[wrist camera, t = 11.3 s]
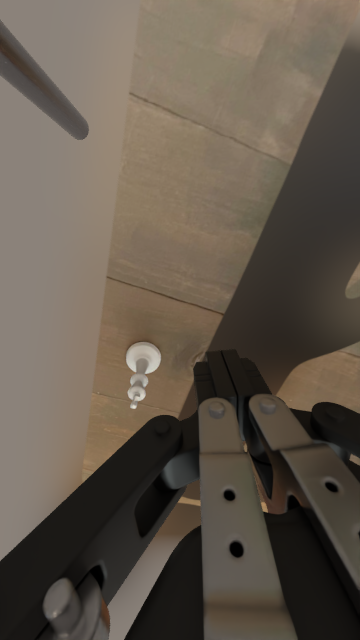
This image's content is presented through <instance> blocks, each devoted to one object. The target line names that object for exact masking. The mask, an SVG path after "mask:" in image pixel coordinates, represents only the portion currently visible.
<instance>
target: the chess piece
mask: <svg viewBox="0 0 360 640" xmlns="http://www.w3.org/2000/svg"><path fill="white" fill-rule="evenodd" d="M160 361H161V354H160V351H159V350H158V348H157V347H156V346H154V345H153V344H151V343H148V342H138V343H135V344H133V345H132V346H131V347H130V348H129V349H128V351H127V354H126V362H127V365H128V366H129V368H130V369H131V370H133V371H134V372H136V374H134V375H133V376H132V377H131V379H130V382H131V385H132V386H131V387H130V389H129V390H128V396H129V398H130V399H131V400H133V401H132V403H131V405H130V408H133V409H134V408H136V407H137V402H138V401H140V400H142V399H144V397H145V395H146V392H145V389H144V387H145V386H146V385H147V383H148V378H147V377H146V376H145V374H148V373H151V372H153V371H154V370H156V369H157V368H158V366H159V364H160Z"/></svg>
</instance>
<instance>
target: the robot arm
mask: <svg viewBox="0 0 360 640" xmlns="http://www.w3.org/2000/svg"><path fill="white" fill-rule="evenodd" d="M205 356H206V361H205V362H196V364H195V366H194V368H193V371H194V386H195V396H196V404H197V410H196V412H195V413H194V414H193V415H192V416H191V417H189V418H187V419H184V420H182V421H179V420H178V419H177V418H175V417H173V416H170V415H160V416H156V417H154V418H152V419H151V420H149V421H148V422H147V423H146V424H145V425H144V426H143V427H142V428H141V429H140V430H139V431H137V432H136V433H135V434H134V435H133V436H132V437H131V438H130V439H129V440H128V441H127V442H126V443H125V444H124V445H123V446H122V447H121V448H119V449H118V450H117V451H116V452H115V453H114V454H113V455H112V456H111V457H110V458H109V459H108V460H107V461H106V462H105V463H104V464H103V465H101V466H100V467H99V468H98V469H97V470H96V471H95V472H94V473H93V474H92V475H91V476H90V477H89V478H88V479H87V480H86V481H85V482H84V483H82V484H81V485H80V486H79V487H78V488H77V489H76V490H75V491H74V492H73V493H72V494H71V495H70V496H69V497H68V498H67V499H66V500H65V501H63V502H62V503H61V504H60V505H59V506H58V507H57V508H56V509H55V510H54V511H53V512H52V513H51V514H50V515H49V516H48V517H47V518H45V519H44V520H43V521H42V522H41V523H40V524H39V525H38V526H37V527H36V528H35V529H34V530H33V531H32V532H31V533H30V534H29V535H28V536H26V537H25V538H24V539H23V540H22V541H21V542H20V543H19V544H18V545H17V546H16V547H15V548H14V549H13V550H12V551H11V552H9V554H7V555H6V556H5V557H4V558H3V559H2V560H1V561H0V640H108V639H109V632H110V615H109V611H108V608H107V606H108V604H109V603H110V601H111V600H112V599H113V597H114V596H115V594H116V593H117V591H118V590H119V588H120V587H121V585H122V584H123V582H124V581H125V579H126V578H127V576H128V575H129V573H130V572H131V570H132V569H133V567H134V566H135V564H136V563H137V561H138V560H139V558H140V557H141V555H142V554H143V552H144V551H145V550H146V548H147V547H148V545H149V544H150V542H151V541H152V539H153V538H154V536H155V534H156V533H157V532H158V530H159V528H160V527H161V526H162V524H163V523H164V521H165V520H166V518H167V517H168V515H169V514H170V512H171V511H172V509H173V508H174V507H175V505H176V504H177V502H178V501H179V499H180V498H181V496H182V495H183V493H184V492H185V490H186V487H187V485H188V484H190V483H192V482H194V481H196V480H199V479H200V494H201V495H200V497H201V525H200V526H198V527H197V528H195V529H193V530H192V531H191V532H190V533H188V534H187V535H186V536H185V537H184V538H183V539H182V540H181V541H180V542H179V544H178V545H177V546H176V548H175V549H174V550H173V552H172V554H171V555H170V557H169V559H168V561H167V562H166V564H165V566H164V568H163V570H162V572H161V573H160V575H159V577H158V579H157V581H156V582H155V584H154V586H153V588H152V590H151V591H150V593H149V595H148V597H147V599H146V600H145V602H144V604H143V606H142V608H141V610H140V611H139V613H138V615H137V617H136V619H135V620H134V622H133V624H132V626H131V628H130V630H129V632H128V633H127V635H126V637H125V639H124V640H360V466H359V465H357V464H355V463H354V462H352V461H350V460H349V459H350V455H351V454H353V455H355V456H357V457H359V458H360V414H359V413H357V412H355V411H352V410H350V409H348V408H346V407H343V406H341V405H339V404H335V403H331V402H321V403H317V404H315V405H314V406H313V408H312V412H309V411H302V410H296V409H292V408H288V406H287V405H286V403H285V402H284V401H283V400H282V399H280V398H279V397H277V396H274V395H272V393H271V391H270V390H269V388H268V386H267V384H266V383H265V381H264V379H263V377H262V376H261V374H260V372H259V371H258V369H257V367H256V365H255V364H254V363H253V362H252V361H251V360H249V359H248V358H239V355H238V353H237V351H236V350H235V349H232V350H221V351H208V352H206V353H205ZM242 441H246V444H247V452H245V451H244V447H243V442H242ZM254 476H255V477H254ZM255 478H256V481H257V483H258V486H259V488H260V491H261V493H262V496H263V498H264V501H265V503H266V506H267V509H268V513H267V512H263V510H262V506H261V502H260V498H259V494H258V490H257V485H256V481H255Z"/></svg>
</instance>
